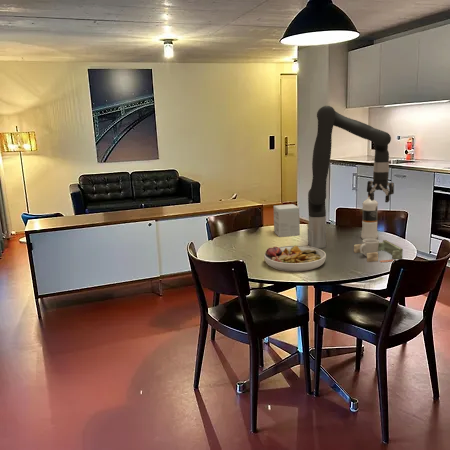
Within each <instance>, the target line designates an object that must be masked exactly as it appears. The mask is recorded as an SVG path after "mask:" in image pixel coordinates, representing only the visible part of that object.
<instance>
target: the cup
mask: <svg viewBox="0 0 450 450" xmlns="http://www.w3.org/2000/svg"><path fill="white" fill-rule="evenodd" d="M361 241H362V242H361V244H362V245H361V246H360V253H361V254H363V255H364V256H365V257H367V253H374V252H377V253H378V252H379V251H378V246H379V243H380V240H379V239H378V238H377V239H362V240H361ZM362 248H363V251H362ZM378 254H379V253H378Z"/></svg>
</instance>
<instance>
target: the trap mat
mask: <svg viewBox="0 0 450 450" xmlns="http://www.w3.org/2000/svg"><path fill="white" fill-rule="evenodd" d="M393 260H394V259H392V258H391V259H381V260H379V262H380V263H382V262H383V263H391V262H392V261H393ZM393 262H394V261H393ZM393 262H392V263H393Z"/></svg>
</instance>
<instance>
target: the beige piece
mask: <svg viewBox="0 0 450 450" xmlns="http://www.w3.org/2000/svg"><path fill="white" fill-rule="evenodd" d="M362 244H363V243H359V244H354V245H353V253H355V254H358V253H359V254H360V253H361V252H360V246H361V245H362ZM381 250H382V251H384V252H387V253H389V254H390V255H391V260H392V259H393V260H401V259H403V248H402V247H400V246H398V245H396V244H394V243H393V242H390V241H389V240H386V239H385V240H382V242H381V241H379V246H378V252H381ZM362 251H363V248H362ZM378 261H379V253H377V252H374V253H367V256H366V262H367V263H372V262H378Z"/></svg>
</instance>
